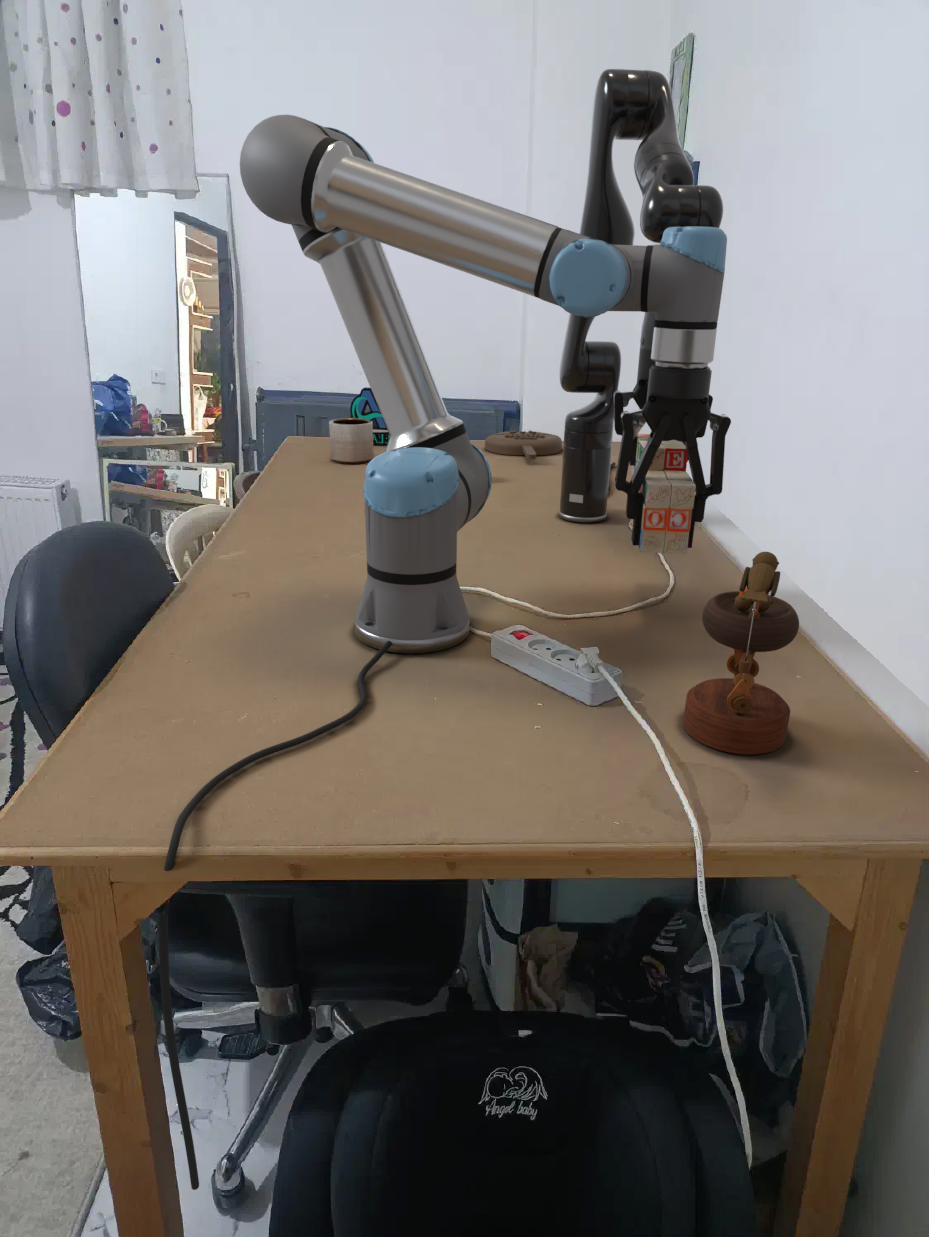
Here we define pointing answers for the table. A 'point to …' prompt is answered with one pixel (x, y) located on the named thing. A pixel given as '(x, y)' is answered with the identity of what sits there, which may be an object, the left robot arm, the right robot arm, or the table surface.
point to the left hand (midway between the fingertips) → (661, 543)
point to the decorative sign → (370, 415)
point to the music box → (744, 666)
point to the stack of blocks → (665, 499)
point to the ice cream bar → (523, 443)
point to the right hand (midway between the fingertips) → (655, 465)
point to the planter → (351, 440)
